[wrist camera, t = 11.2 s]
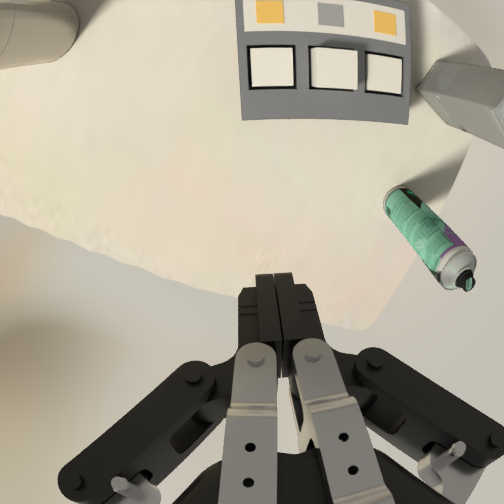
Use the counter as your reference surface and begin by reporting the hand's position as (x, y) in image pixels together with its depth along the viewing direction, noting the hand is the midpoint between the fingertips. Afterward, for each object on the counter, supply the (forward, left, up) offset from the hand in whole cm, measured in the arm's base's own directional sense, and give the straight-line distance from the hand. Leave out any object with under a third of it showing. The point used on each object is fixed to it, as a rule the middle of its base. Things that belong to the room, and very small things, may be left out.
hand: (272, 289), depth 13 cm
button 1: (+16, +9, -27) cm, 32 cm away
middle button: (+9, +9, -25) cm, 28 cm away
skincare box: (+28, +8, -29) cm, 41 cm away
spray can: (+22, -10, -29) cm, 38 cm away
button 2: (+2, +9, -27) cm, 29 cm away
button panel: (+9, +11, -29) cm, 32 cm away
